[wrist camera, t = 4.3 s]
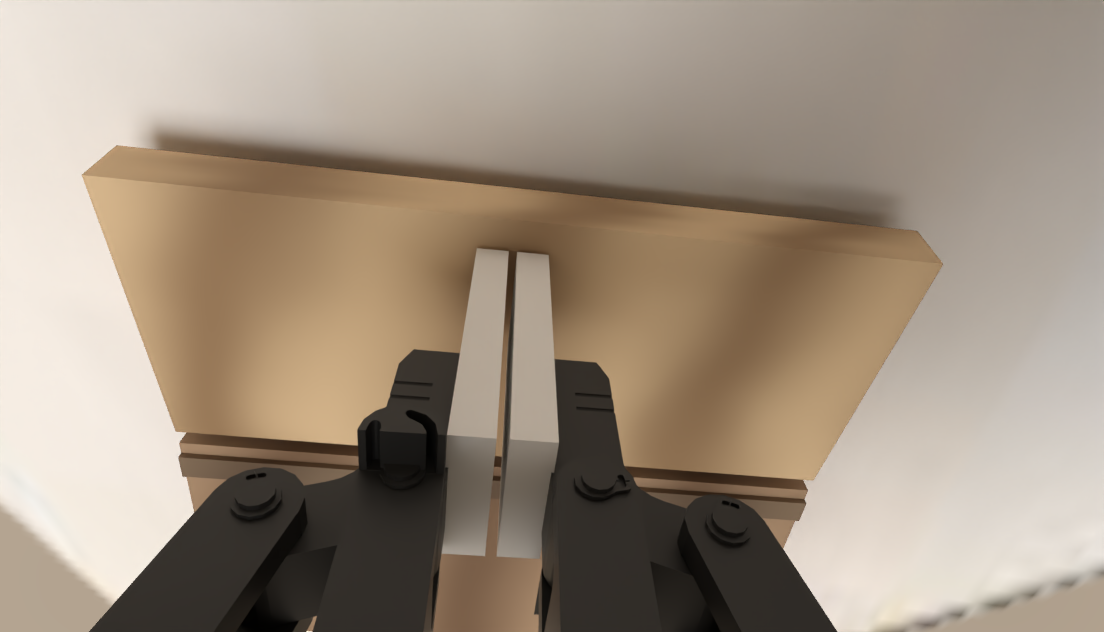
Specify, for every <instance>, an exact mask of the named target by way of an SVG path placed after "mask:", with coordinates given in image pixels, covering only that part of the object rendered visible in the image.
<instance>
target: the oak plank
mask: <svg viewBox="0 0 1104 632" xmlns="http://www.w3.org/2000/svg"><path fill="white" fill-rule="evenodd" d="M82 177H83V180H84V182H85V185H86V188H87V190H88V193H89V196H90V199H91V201H92V204H93V207H94V210H95V212H96V215H97V218H98V220H99V223H100V226H101V229H102V231H103V234H104V237H105V240H106V242H107V245H108V248H109V251H110V253H111V256H112V259H113V261H114V264H115V267H116V270H117V272H118V275H119V278H120V281H121V283H122V286H123V289H124V291H125V294H126V297H127V300H128V302H129V305H130V308H131V311H132V313H133V316H134V319H135V321H136V324H137V327H138V330H139V332H140V335H141V338H142V341H143V343H144V346H145V349H146V351H147V354H148V357H149V360H150V362H151V365H152V368H153V371H154V373H155V376H156V379H157V381H158V384H159V387H160V390H161V392H162V395H163V398H164V401H165V403H166V406H167V409H168V411H169V414H170V417H171V420H172V422H173V425H174V428H175V431H176V432H188V433H201V434H214V435H227V436H240V437H253V438H266V439H279V440H292V441H305V442H318V443H331V444H345V445H358V438H357V429H358V427H359V426H360V424H361V423H362V421H363V419H364V418H366V417H367V416H369V415H370V414H371V413H373V412H374V411H376V410H379V409H382V408H385V407H386V406H387V403H388V399H389V398H390V392H391V389H392V386H393V384H394V379H395V375H396V372H397V368H398V365H399V363H400V362H401V361H402V360H403V359H404V358H405V357H406V356H407V355H408V354H409V353H410V352H411V351H412V350H413V349H417V350H429V351H441V352H453V353H460V350H461V344H462V338H463V332H464V325H465V319H466V313H467V307H468V300H469V294H470V288H471V282H472V275H473V269H474V263H475V257H476V250H477V248H481V249H492V250H502V251H509V255H508V270H507V286H506V301H505V317H504V332H503V348H502V363H501V379H500V394H499V410H498V425H497V440H496V450H495V456H501V457H502V444H503V424H504V405H505V385H506V366H507V347H508V337H509V327H510V317H511V307H512V297H513V288H514V278H515V268H516V258H517V252H524V253H534V254H545V255H549V270H550V288H551V306H552V325H553V343H554V359H560V360H572V361H585V362H597V364H598V365H599V366H600V367H601V369H602V370H603V371H604V372H605V374H606V375H607V376H608V378H609V381H610V387H611V392H612V399H613V404H614V413H615V416H616V422H617V428H618V434H619V440H620V445H621V451H622V457H623V463H624V466H631V467H644V468H657V469H670V470H683V471H696V472H709V473H722V474H735V475H748V476H761V477H774V478H787V479H800V480H814V478H815V477H816V475H817V473H818V472H819V470H820V468H821V467H822V465H823V463H824V462H825V460H826V458H827V457H828V455H829V453H830V452H831V450H832V448H833V447H834V445H835V443H836V442H837V440H838V438H839V437H840V435H841V433H842V432H843V430H844V428H845V427H846V425H847V423H848V422H849V420H850V418H851V417H852V415H853V413H854V412H855V410H856V408H857V407H858V405H859V403H860V402H861V400H862V398H863V397H864V395H865V393H866V392H867V390H868V388H869V387H870V385H871V384H872V382H873V380H874V379H875V377H876V375H877V374H878V372H879V370H880V369H881V367H882V365H883V364H884V362H885V360H886V359H887V357H888V355H889V354H890V352H891V350H892V349H893V347H894V345H895V344H896V342H897V340H898V339H899V337H900V335H901V334H902V332H903V330H904V329H905V327H906V325H907V324H908V322H909V320H910V319H911V317H912V315H913V314H914V312H915V310H916V309H917V307H918V305H919V304H920V302H921V300H922V299H923V297H924V295H925V294H926V292H927V290H928V289H929V287H930V285H931V284H932V282H933V280H934V279H935V277H936V275H937V274H938V272H939V270H940V269H941V267H942V265H943V263H942V262H941V260H940V259H939V258H938V257H937V255H936V254H935V253H934V252H933V250H932V249H931V248H930V247H929V245H928V244H927V243H926V242H925V240H924V239H923V238H922V237H921V235H920V234H919V233H918V232H917V231H912V230H903V229H894V228H884V227H875V226H866V225H856V224H847V223H838V222H828V221H819V220H810V219H800V218H791V217H781V216H772V215H763V214H753V213H744V212H735V211H725V210H716V209H707V208H697V207H688V206H679V205H669V204H660V203H651V202H641V201H632V200H623V199H613V198H604V197H594V196H585V195H576V194H566V193H557V192H548V191H538V190H529V189H520V188H510V187H501V186H492V185H482V184H473V183H464V182H454V181H445V180H435V179H426V178H417V177H407V176H398V175H389V174H379V173H370V172H361V171H351V170H342V169H333V168H323V167H314V166H305V165H295V164H286V163H276V162H267V161H258V160H248V159H239V158H230V157H220V156H211V155H202V154H192V153H183V152H174V151H164V150H155V149H146V148H136V147H127V146H118V145H117V146H115V147H114V148H113V149H112V150H111V151H109V152H108V153H107V154H106V155H105V156H104V157H102V158H101V159H100V160H99V161H98V162H96V163H95V164H94V165H93V166H92V167H91V168H89V169H88V170H87V171H86V172H85V173H83V174H82Z"/></svg>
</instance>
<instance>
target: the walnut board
mask: <svg viewBox="0 0 1104 632" xmlns="http://www.w3.org/2000/svg"><path fill="white" fill-rule="evenodd" d="M179 444H180V448H181V454H180V456H179V457H178V458H179V462H180V467H181V471H182V476H183V477H187V481H188V485H189V490H190V494H191V499H192V504H193V508H194V513H195V511H196V510H197V509H198V508H199V507H200V506H201V505H202V503H203V502H204V501H205V500H206V499H207V498H208V497H209V496H210V494H211V493H212V492H213V491H214V490H215V489H216V488H217V487H218V486H220V485H221V484H222V483H223V482H224V481H226V480H227V479H228V478H230V477H232V476H234V475H237V474H239V473H241V472H243V471H246V470H251V469H256V468H262V467H269V468H281V469H284V470H286V471H288V472H290V473H293V474H295V475H296V476H297V477H298V479H299V480H300V481H301V482H302V483H303V486H304V485H310V484H315V483H321V482H326V481H331V480H334V479H338V478H342V477H344V476H346V475H348V474H350V473H352V472H354V471H355V470H357V469H358V468H359V461H358V445H345V444H331V443H318V442H305V441H292V440H279V439H266V438H253V437H240V436H227V435H214V434H201V433H188V432H187V433H186V434H185V436H184V437H183V438H182V440H181V441H180V443H179ZM501 463H502V457H501V456H495V460H494V470H493V480H492V490H491V500H490V509H489V519H488V529H487V539H486V549H485V556H475V555H458V554H441V561H440V573H439V586H438V595H437V603H436V612H435V620H434V628H433V632H538V626H539V615H534V611H535V605H536V599H537V593H538V587H539V581H540V575H541V570H542V548H541V554H540V559H531V558H513V557H497V540H498V521H499V502H500V482H501ZM625 469H626V470H627V471H628V472H629V473H630V474H631V475H632V476H633V478H634V480H635V483H636V485H637V486H638V487H639V488H640V489H641V490H643V491H645V492H646V493H648V494H649V495H651V496H653V497H655V498H658V499H660V500H662V501H665V502H668V503H671V504H674V505H677V506H681V507H684V508H687V507H688V506H689V505H690V504H691V503H692V502H693V501H694V500H695V499H696V498H699V497H702V496H705V495H708V494H711V495H725V496H728V497H731V498H734V499H737V500H740V501H742V502H743V503H745V504H746V505H748V506H750V507H751V508H753V509H754V510H755V511H756V512H757V513H758V514H759V515H760V517H761V518H762V519H763V520H764V521H765V522H766V524H767V525H768V527H769V528H770V530H771V531H772V533H773V535H774V536H775V538H776V539H777V541H778V542H779V544H780V545H781V547H782V548H784V545H785V543H786V541H787V538H788V536H789V534H790V531H791V529H792V527H793V524H794V522H795V521H799V520H800V517H801V515H802V513H803V510H804V508H805V506H806V502H805V500H804V499H805V496H806V494H807V492H808V490H807V488H806V486H805V483H804V481H803V480H800V479H787V478H774V477H761V476H748V475H735V474H722V473H709V472H696V471H683V470H670V469H657V468H644V467H631V466H625ZM316 618H317V616H315V617H313V620H312V622H311V624H310V626H309V628H308V629H307V631H313V628H314V625H315V621H316Z"/></svg>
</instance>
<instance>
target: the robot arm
mask: <svg viewBox="0 0 1104 632" xmlns="http://www.w3.org/2000/svg"><path fill="white" fill-rule="evenodd" d="M508 255H509V251H502V250H492V249H481V248H477V250H476V257H475V263H474V269H473V275H472V282H471V288H470V294H469V300H468V307H467V313H466V319H465V325H464V332H463V338H462V344H461V350H460V353H453V352H441V351H429V350H417V349H413V350H412V351H411V352H410V353H409V354H408V355H407V356H406V357H405V358H404V359H403V360H402V361H401V362H400V363H399V365H398V368H397V372H396V375H395V379H394V384H393V386H392V389H391V392H390V398H389V399H388V403H387V406H386V407H385V408H382V409H379V410H376V411H374V412H373V413H371V414H370V415H369V416H367V417H366V418H364V419H363V421H362V423H361V424H360V426H359V427H358V429H357V438H358V461H359V468H358V469H357V470H355V471H354V472H352V473H350V474H348V475H346V476H344V477H342V478H338V479H334V480H331V481H326V482H321V483H315V484H310V485H304V486H303V483H302V482H301V481H300V480H299V479H298V477H297V476H296V475H295V474H293V473H290V472H288V471H286V470H284V469H281V468H269V467H262V468H256V469H251V470H246V471H243V472H241V473H239V474H237V475H234V476H232V477H230V478H228V479H227V480H226V481H224V482H223V483H222V484H221V485H220V486H218V487H217V488H216V489H215V490H214V491H213V492H212V493H211V494H210V496H209V497H208V498H207V499H206V500H205V501H204V502H203V503H202V505H201V506H200V507H199V508H198V509H197V510H196V511H195V513H194V514H193V515H192V516H191V517H190V518H189V519H188V520H187V522H186V523H185V524H184V525H183V526H182V527H181V528H180V529H179V531H178V532H177V533H176V534H175V535H174V536H173V537H172V539H171V540H170V541H169V542H168V543H167V544H166V545H165V546H164V548H163V549H162V550H161V551H160V552H159V553H158V554H157V556H156V557H155V558H154V559H153V560H152V561H151V562H150V563H149V565H148V566H147V567H146V568H145V569H144V570H143V571H142V573H141V574H140V575H139V576H138V577H137V578H136V579H135V580H134V582H133V583H132V584H131V585H130V586H129V587H128V588H127V589H126V591H125V592H124V593H123V594H122V595H121V596H120V597H119V599H118V600H117V601H116V602H115V603H114V604H113V605H112V607H111V608H110V609H109V610H108V611H107V612H106V613H105V614H104V616H103V617H102V618H101V619H100V620H99V621H98V622H97V623H96V625H95V626H94V627H93V628H92V629H91V630H90V631H89V632H306V631H307V629H308V628H309V626H310V624H311V622H312V620H313V617H315V616H317V618H316V621H315V625H314V628H313V632H433V628H434V620H435V612H436V603H437V595H438V586H439V573H440V561H441V554H458V555H475V556H485V549H486V539H487V529H488V519H489V509H490V500H491V490H492V480H493V470H494V460H495V450H496V440H497V425H498V410H499V394H500V379H501V363H502V348H503V332H504V317H505V301H506V286H507V270H508ZM541 548H542V570H541V575H540V581H539V587H538V593H537V599H536V605H535V611H534V615H539V626H538V632H837V631H836V629H835V628H834V626H833V625H832V623H831V621H830V620H829V618H828V617H827V615H826V614H825V612H824V611H823V609H822V608H821V606H820V605H819V603H818V602H817V600H816V599H815V597H814V596H813V594H812V592H811V591H810V589H809V588H808V586H807V585H806V583H805V582H804V580H803V579H802V577H801V576H800V574H799V573H798V571H797V570H796V568H795V567H794V565H793V564H792V562H791V560H790V559H789V557H788V556H787V554H786V553H785V551H784V550H783V548H782V547H781V545H780V544H779V542H778V541H777V539H776V538H775V536H774V535H773V533H772V531H771V530H770V528H769V527H768V525H767V524H766V522H765V521H764V520H763V519H762V518H761V517H760V515H759V514H758V513H757V512H756V511H755V510H754V509H753V508H751V507H750V506H748V505H746V504H745V503H743V502H742V501H740V500H737V499H734V498H731V497H728V496H725V495H711V494H708V495H705V496H702V497H699V498H696V499H695V500H694V501H693V502H692V503H691V504H690V505H689V506H688V507H687V508H684V507H681V506H677V505H674V504H671V503H668V502H665V501H662V500H660V499H658V498H655V497H653V496H651V495H649V494H648V493H646V492H645V491H643V490H641V489H640V488H639V487H638V486H637V485H636V483H635V480H634V478H633V476H632V475H631V474H630V473H629V472H628V471H627V470H626V469H625V466H624V463H623V457H622V451H621V445H620V440H619V434H618V428H617V422H616V416H615V413H614V404H613V399H612V392H611V387H610V381H609V378H608V376H607V375H606V374H605V372H604V371H603V370H602V369H601V367H600V366H599V365H598V364H597V362H585V361H572V360H560V359H554V343H553V325H552V306H551V288H550V270H549V255H545V254H534V253H524V252H517V258H516V268H515V278H514V288H513V297H512V307H511V317H510V327H509V337H508V347H507V366H506V385H505V405H504V424H503V444H502V463H501V482H500V502H499V521H498V540H497V557H513V558H531V559H540V554H541Z"/></svg>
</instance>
